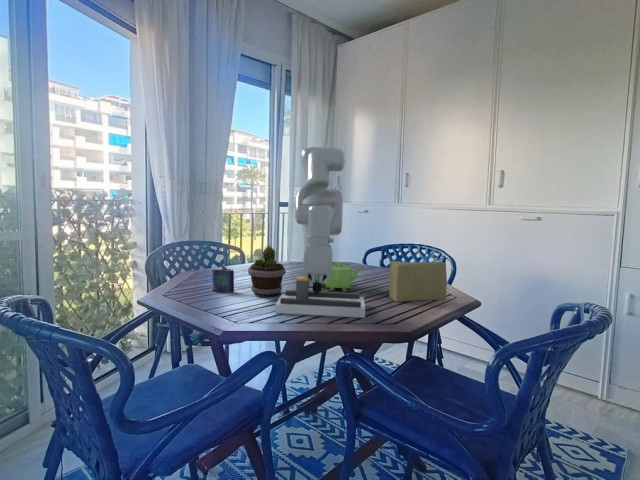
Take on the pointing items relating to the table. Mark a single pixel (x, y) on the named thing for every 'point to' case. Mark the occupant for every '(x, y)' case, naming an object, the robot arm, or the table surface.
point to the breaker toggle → (302, 287)
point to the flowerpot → (266, 274)
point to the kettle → (341, 277)
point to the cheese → (417, 281)
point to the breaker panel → (321, 308)
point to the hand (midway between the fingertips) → (316, 293)
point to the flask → (223, 280)
